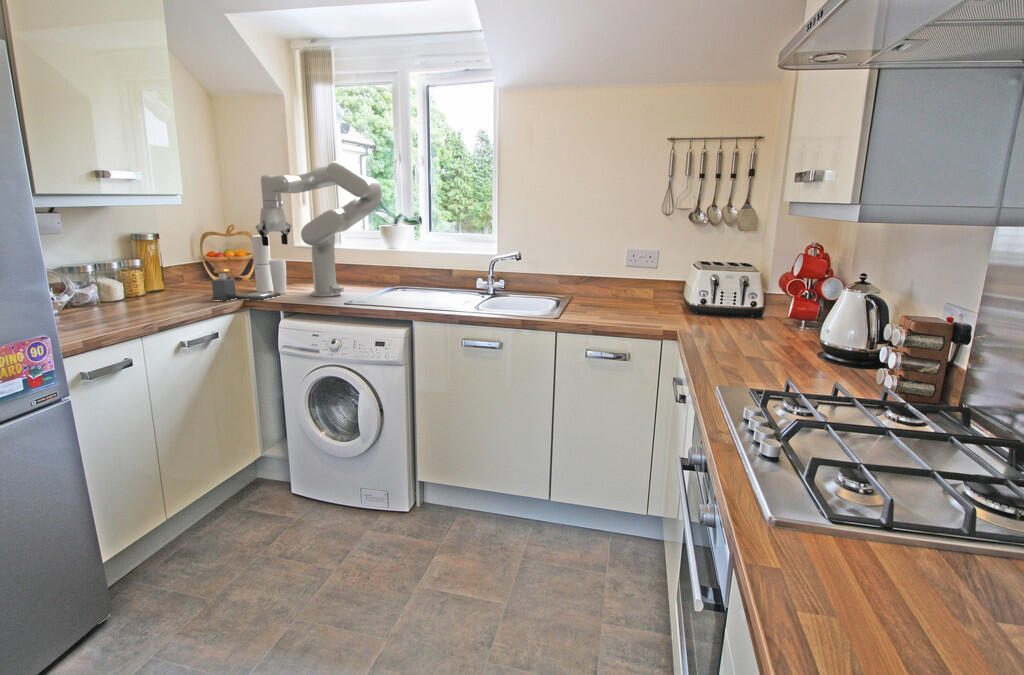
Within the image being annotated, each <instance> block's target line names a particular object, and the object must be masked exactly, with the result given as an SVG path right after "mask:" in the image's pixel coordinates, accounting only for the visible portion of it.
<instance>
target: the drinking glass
mask: <svg viewBox="0 0 1024 675" xmlns="http://www.w3.org/2000/svg"><path fill="white" fill-rule="evenodd" d="M269 265H270V273H271V278H272V284H273V290H274V291H273V293H280V295H282V294H281V293H285V294H287V263H286V259H284V258H273V259H272V258H271V260H269Z"/></svg>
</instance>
